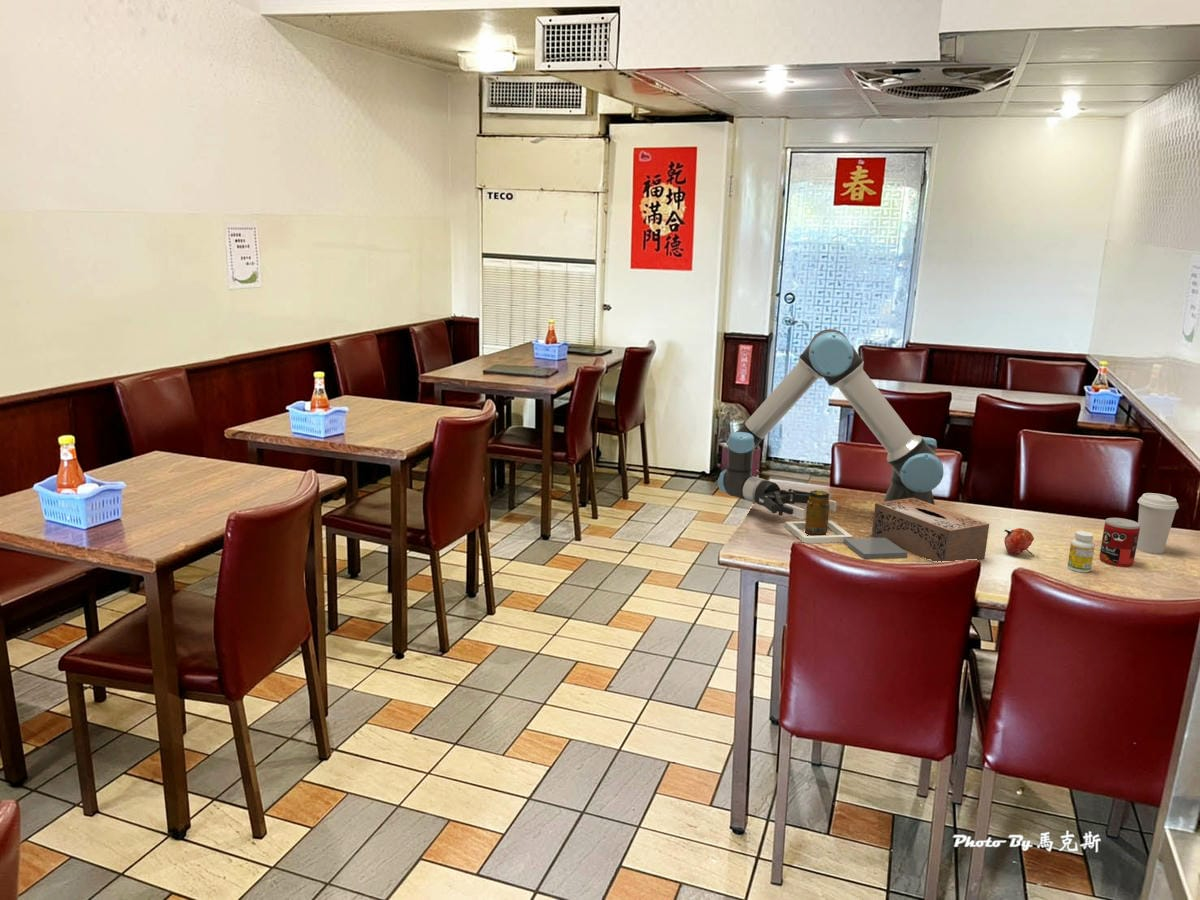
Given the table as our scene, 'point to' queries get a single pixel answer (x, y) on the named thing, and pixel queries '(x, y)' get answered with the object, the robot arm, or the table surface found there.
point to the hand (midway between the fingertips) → (819, 510)
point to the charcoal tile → (875, 548)
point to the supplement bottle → (1081, 552)
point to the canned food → (1119, 542)
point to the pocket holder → (818, 539)
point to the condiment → (817, 513)
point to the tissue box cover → (930, 530)
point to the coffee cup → (1155, 521)
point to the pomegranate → (1018, 541)
